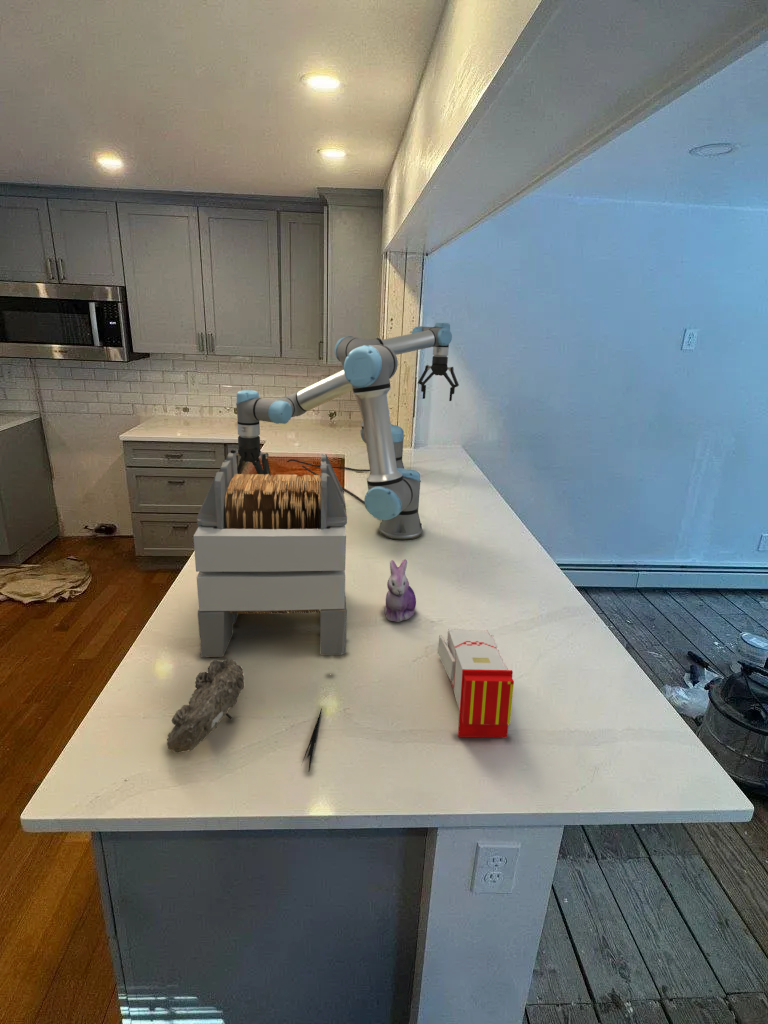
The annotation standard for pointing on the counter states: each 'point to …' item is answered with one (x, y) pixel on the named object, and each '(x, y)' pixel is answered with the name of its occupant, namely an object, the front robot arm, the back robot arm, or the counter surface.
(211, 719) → the fossil
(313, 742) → the feather
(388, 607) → the figurine
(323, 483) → the record crate
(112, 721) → the counter surface
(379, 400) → the front robot arm
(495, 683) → the toy
